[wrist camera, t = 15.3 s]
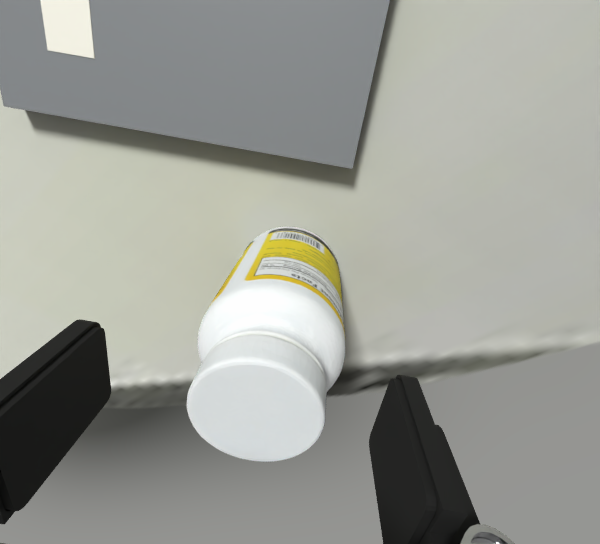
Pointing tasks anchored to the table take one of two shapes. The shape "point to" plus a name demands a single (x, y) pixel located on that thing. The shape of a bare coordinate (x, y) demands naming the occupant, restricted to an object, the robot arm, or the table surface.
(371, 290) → the table surface
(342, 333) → the supplement bottle
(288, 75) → the letter pad
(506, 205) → the table surface
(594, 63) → the table surface
